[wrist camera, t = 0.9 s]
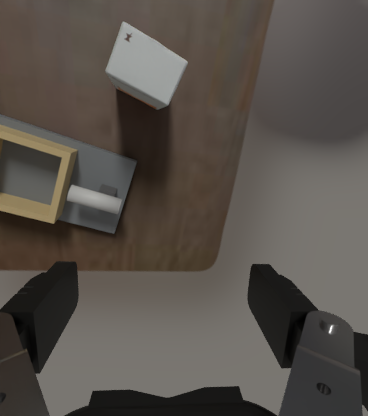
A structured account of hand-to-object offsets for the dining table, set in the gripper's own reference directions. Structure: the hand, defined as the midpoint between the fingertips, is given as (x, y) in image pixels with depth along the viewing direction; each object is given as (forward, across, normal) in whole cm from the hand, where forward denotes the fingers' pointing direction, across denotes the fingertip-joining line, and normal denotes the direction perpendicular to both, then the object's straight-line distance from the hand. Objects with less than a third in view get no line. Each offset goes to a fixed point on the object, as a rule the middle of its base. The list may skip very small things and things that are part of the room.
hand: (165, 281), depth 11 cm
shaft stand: (+24, +17, -2) cm, 30 cm away
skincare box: (+25, +3, -14) cm, 29 cm away
